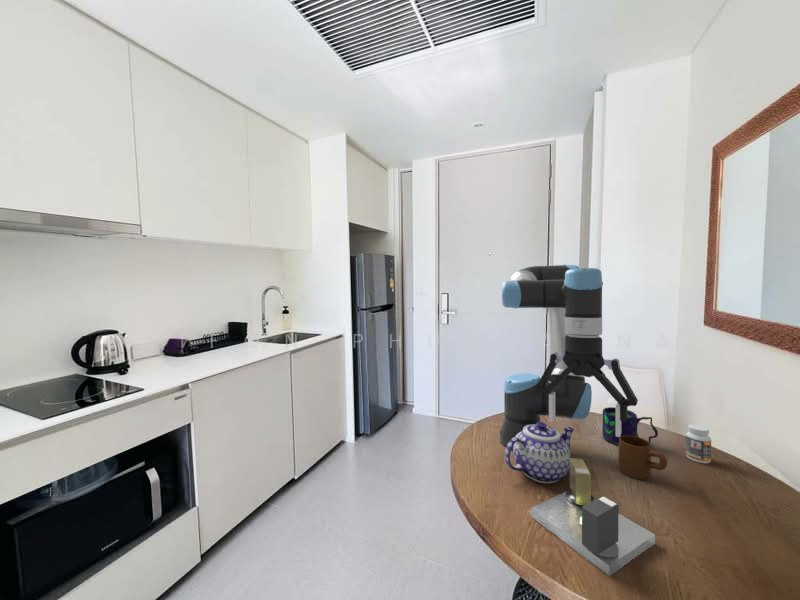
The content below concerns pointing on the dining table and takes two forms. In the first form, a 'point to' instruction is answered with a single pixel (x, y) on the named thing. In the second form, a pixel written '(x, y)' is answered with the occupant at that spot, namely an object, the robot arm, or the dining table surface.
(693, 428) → the pill bottle
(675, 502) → the dining table surface
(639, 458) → the mug
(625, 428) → the mug
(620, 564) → the plate
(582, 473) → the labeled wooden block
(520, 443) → the teapot
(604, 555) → the dark grey block
